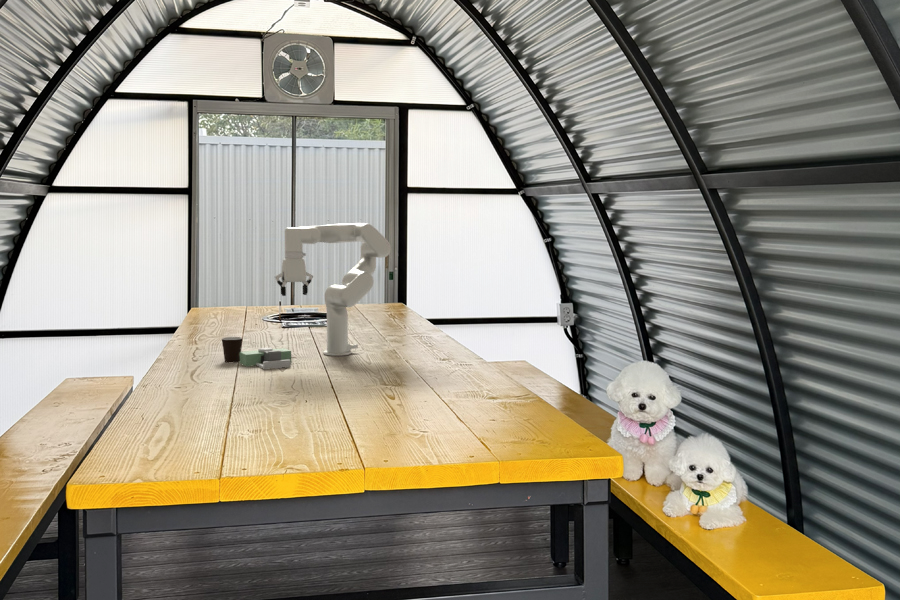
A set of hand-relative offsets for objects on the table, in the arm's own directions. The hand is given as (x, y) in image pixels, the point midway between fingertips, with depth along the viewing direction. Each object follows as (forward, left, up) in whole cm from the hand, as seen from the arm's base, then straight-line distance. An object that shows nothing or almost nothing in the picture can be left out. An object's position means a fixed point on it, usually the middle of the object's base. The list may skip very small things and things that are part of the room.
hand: (294, 295), depth 350 cm
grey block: (+14, +10, -28) cm, 33 cm away
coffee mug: (+24, -10, -28) cm, 39 cm away
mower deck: (+14, +7, -28) cm, 32 cm away
